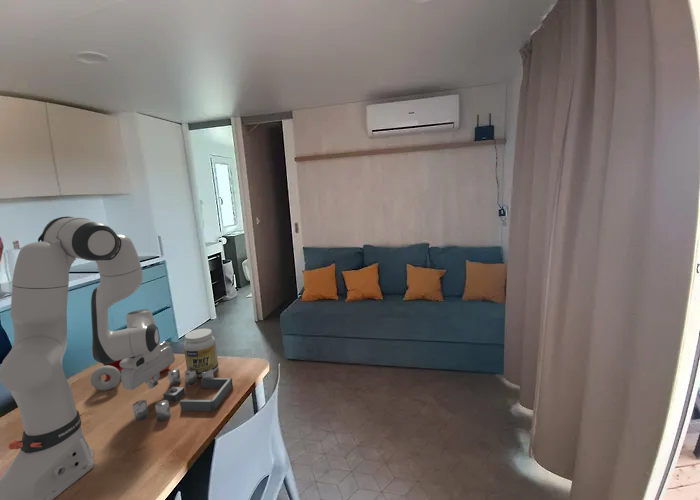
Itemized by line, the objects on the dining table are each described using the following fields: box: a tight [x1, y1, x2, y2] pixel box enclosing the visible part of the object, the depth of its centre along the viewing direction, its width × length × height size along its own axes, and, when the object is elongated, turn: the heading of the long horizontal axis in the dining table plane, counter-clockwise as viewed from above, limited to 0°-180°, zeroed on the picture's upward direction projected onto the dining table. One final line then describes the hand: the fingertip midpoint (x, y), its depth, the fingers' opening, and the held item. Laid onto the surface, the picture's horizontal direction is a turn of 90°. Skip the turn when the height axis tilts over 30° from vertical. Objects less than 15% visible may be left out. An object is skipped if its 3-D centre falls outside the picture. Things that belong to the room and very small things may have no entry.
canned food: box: [103, 359, 123, 381], centre depth 147 cm, size 8×8×11 cm
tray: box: [179, 377, 234, 412], centre depth 128 cm, size 15×12×4 cm
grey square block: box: [162, 386, 186, 403], centre depth 129 cm, size 5×5×3 cm
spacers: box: [132, 368, 215, 422], centre depth 128 cm, size 25×18×5 cm
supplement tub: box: [183, 328, 219, 378], centre depth 146 cm, size 12×12×17 cm
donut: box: [90, 365, 122, 392], centre depth 137 cm, size 10×4×10 cm, turn 108°
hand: (153, 386), depth 130 cm, fingers closed
